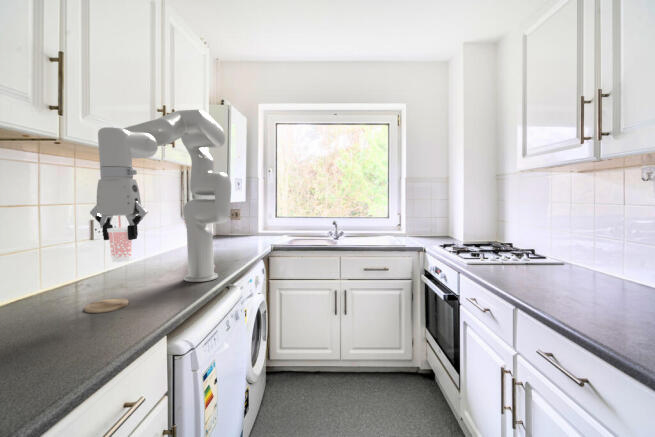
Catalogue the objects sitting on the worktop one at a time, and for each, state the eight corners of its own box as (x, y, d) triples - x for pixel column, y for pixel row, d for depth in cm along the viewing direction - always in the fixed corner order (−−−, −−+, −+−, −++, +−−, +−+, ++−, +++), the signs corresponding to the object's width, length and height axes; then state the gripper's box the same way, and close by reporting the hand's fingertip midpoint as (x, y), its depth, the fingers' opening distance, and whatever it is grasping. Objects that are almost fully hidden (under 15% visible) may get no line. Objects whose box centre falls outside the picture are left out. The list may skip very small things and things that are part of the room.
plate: (102, 301, 108) (102, 298, 107) (136, 301, 107) (136, 298, 107) (75, 312, 97) (74, 309, 97) (112, 313, 96) (112, 309, 96)
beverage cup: (139, 258, 98) (136, 209, 97) (123, 262, 92) (120, 210, 91) (120, 257, 99) (117, 209, 98) (103, 262, 93) (100, 210, 92)
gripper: (155, 174, 97) (158, 237, 98) (95, 175, 97) (99, 238, 99) (140, 173, 89) (143, 241, 91) (75, 174, 90) (80, 241, 91)
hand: (120, 238), depth 95 cm, fingers closed on beverage cup, 6 cm apart
